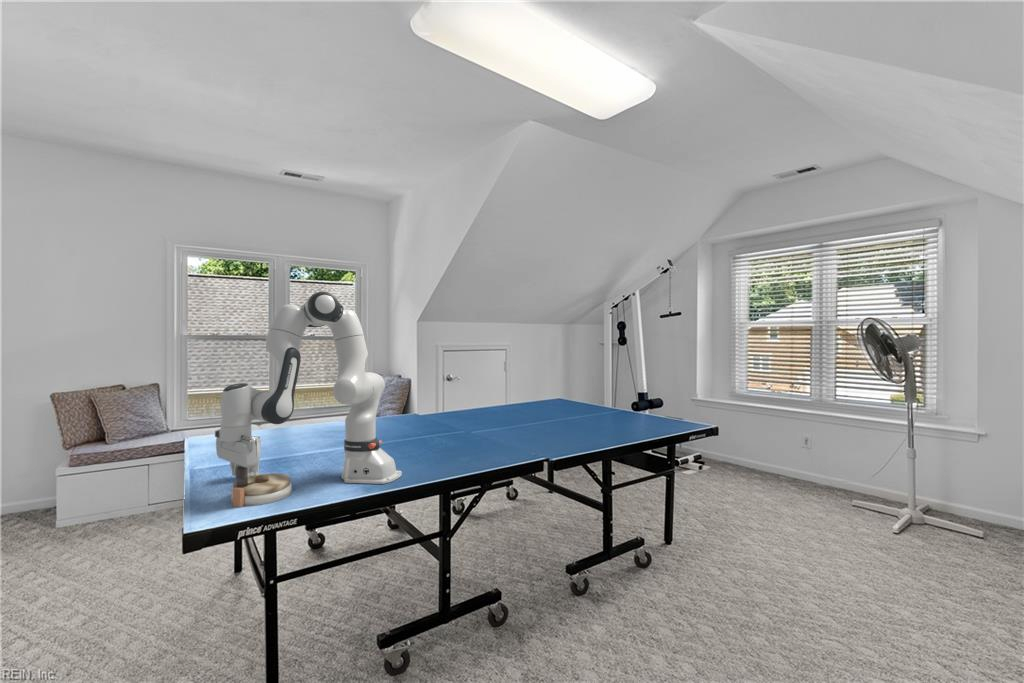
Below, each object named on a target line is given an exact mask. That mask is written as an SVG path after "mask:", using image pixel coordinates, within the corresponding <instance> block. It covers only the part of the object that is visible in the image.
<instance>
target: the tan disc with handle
mask: <svg viewBox="0 0 1024 683" xmlns="http://www.w3.org/2000/svg"><path fill="white" fill-rule="evenodd" d="M259 474H260V473H259ZM235 477H236V481H235V482H233V484H232V489H234V488H236V487H237V488H244V495H248V496H250V495H263V494H269V493H273V492H277V491H280V490H283V489H285V488H287V487H288V486H289V485H290V482H291V476H289V475H287V474H284V473H261V474H260V475H254V476H249V477H248V467H243V466H242V467H237V468H236V476H235Z"/></svg>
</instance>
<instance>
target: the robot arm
mask: <svg viewBox="0 0 1024 683" xmlns="http://www.w3.org/2000/svg"><path fill="white" fill-rule="evenodd" d="M324 326H327V327H328V328H329V329H330V331H331V334H332V338H333V342H334V347H335V351H336V357H337V365H338V367H337V379H336V381H335V383H334V385H333V388H332V394H333V397H334V399H335V401H336V402H338V403H339V404H341V405H347V406H348V405H349V406H350V409H349V411H348V413H347V415H346V416H345V417H346V418H345V420H344V421H345V422H344V427H345V428H344V430H345V435H344V436H345V438H344V440H343V442H344V443H343V446H344V447H343V449H344V450H343V451H344V461H343V467H342V471H341V475H340V477H341V479H342V480H343V482H344V483H346V484H371V485H372V484H374V485H375V484H376V485H379V484H380V485H381V484H382V485H384V484H388V483H391V482H394V481H396V480H398V479H399V478H400V477H401V476H402V473H403V472H402V471H401V470H397V467H396V463H395V460H394V458H393V457H392V456H390V454H388V453H387V452H386V451H385V450H383V448H381V445H380V444H382V443H383V442H382V441H383V439H380V440H379V439H378V438H377V437H376V432H377V428H376V427H377V426H376V422H377V413H378V409H379V408H378V407H379V404H380V400H381V396H382V394H383V393H384V391H385V388H386V382H385V379H384V377H383V376H382V375H381V374H378V373H376V372H371V371H368V372H367V371H366V361H367V359H368V358H369V352H368V347H367V342H366V338H365V334H364V331H363V330H364V329H363V327H362V324H361V321H360V319H359V317H358V315H357V313H356V312H355V311H354V310H351V309H345V308H344V306H343V305H342V304H341V303H340V302H339V300H338V299H337V298H336V296H335V295H334V294H332V293H331V292H328V291H318V292H315V293H313V294H312V295H311V296H310V297H308V298H307V299H306V300H305V302H304V303H303V305H296V304H292V303H291V304H290V303H289V304H283V305H282V306H281V307H280V308H279V310H278V311H277V313H276V314H275V316H274V318H273V320H272V323H271V325H270V327H269V329H268V333H267V334H266V335H267V336H266V340H265V348H266V350H267V352H268V354H269V355H270V356H272V357H273V358H274V359H275V360H276V361H277V362H278V368H279V370H278V374H277V379H276V383H275V388H274V390H273V391H272V392H268V391H264V390H261V389H257V388H254V387H252V386H251V385H250V384H248V383H245V382H243V383H242V382H241V383H240V382H239V383H234V384H230V385H227V386H226V387H224V389H223V390H222V393H221V397H220V415H221V422H220V428H219V429H216V430H214V437H215V438H216V439H215V447H216V448H215V449H216V452H215V453H216V456H217V458H218V459H222V460H224V461H228V462H229V466H230V468H231V475H232V476H234V477H236V468H237V467H242V466H243V467H250V466H254V465H255V464H256V462H257V459H256V447H255V444H254V442H252V441H251V436H252V421H253V420H259V421H261V422H267V423H270V424H273V425H280V424H284V423H286V422H287V421H288V420H289V419H290V418H291V417H292V415H293V413H294V410H295V391H296V386H297V381H298V378H299V372H300V368H301V367H300V366H301V358H302V357H301V353H300V348H301V343H302V340H303V337H304V333H305V331H306V329H307V328H321V327H324Z"/></svg>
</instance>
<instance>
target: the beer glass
mask: <svg viewBox="0 0 1024 683" xmlns="http://www.w3.org/2000/svg"><path fill="white" fill-rule="evenodd" d="M251 441H252V442H254V444H255V447H256V459H257V462H256V464H255V465H254V466H250V467H248V477H249V476H254V475H260V468H259V465H260V459H261V453H262V449H261V448H262V446H261V437H260V436H253V435H251Z"/></svg>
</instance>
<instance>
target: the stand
mask: <svg viewBox="0 0 1024 683" xmlns="http://www.w3.org/2000/svg"><path fill="white" fill-rule="evenodd" d="M230 494H231V495H230V498H231V499H230V501H231V502H232V507H236V508H241V507H244V506H260V505H267V504H271V503H275V502H279V501H282V500H285V499H286V498H288V497H289V496H291V494H292V483H291V481H290V485H289V486H288V487H287V488H285V489H283V490H280V491H277V492H273V493H269V494H263V495H250V496H248V495H244V488H237V487H236V488H234V489H233V488H232V489H231V491H230Z"/></svg>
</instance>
